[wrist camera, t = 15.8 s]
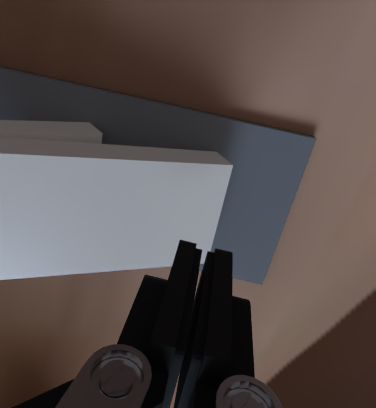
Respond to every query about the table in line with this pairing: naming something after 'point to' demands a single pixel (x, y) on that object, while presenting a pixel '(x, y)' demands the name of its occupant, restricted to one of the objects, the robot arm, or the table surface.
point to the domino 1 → (51, 131)
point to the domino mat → (189, 140)
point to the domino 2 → (103, 205)
